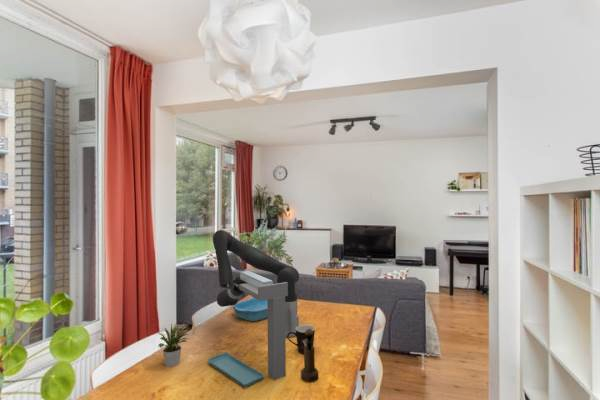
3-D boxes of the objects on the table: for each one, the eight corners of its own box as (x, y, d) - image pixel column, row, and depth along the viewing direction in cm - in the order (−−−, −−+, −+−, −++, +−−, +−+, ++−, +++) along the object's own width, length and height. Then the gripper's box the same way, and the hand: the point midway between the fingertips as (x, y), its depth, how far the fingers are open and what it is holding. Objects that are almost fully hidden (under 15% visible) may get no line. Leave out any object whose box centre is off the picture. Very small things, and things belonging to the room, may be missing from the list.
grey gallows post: (239, 361, 133) (239, 277, 134) (265, 354, 139) (265, 273, 140) (260, 384, 116) (259, 287, 116) (289, 375, 122) (288, 282, 123)
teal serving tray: (264, 380, 119) (264, 373, 119) (244, 390, 113) (244, 383, 113) (226, 357, 138) (226, 351, 138) (206, 365, 131) (206, 359, 131)
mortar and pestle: (300, 373, 123) (299, 326, 124) (316, 372, 124) (316, 325, 124) (301, 382, 117) (301, 333, 117) (319, 381, 117) (318, 332, 117)
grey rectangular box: (240, 279, 143) (240, 271, 143) (248, 278, 145) (248, 270, 145) (263, 290, 123) (263, 282, 123) (272, 289, 125) (272, 280, 125)
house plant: (165, 378, 120) (165, 334, 121) (143, 368, 128) (143, 327, 128) (196, 362, 132) (195, 322, 133) (174, 354, 140) (174, 317, 140)
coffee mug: (317, 348, 145) (317, 326, 145) (311, 357, 136) (311, 333, 137) (293, 345, 148) (293, 323, 149) (286, 353, 140) (286, 330, 140)
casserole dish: (267, 302, 215) (267, 292, 215) (294, 308, 202) (294, 297, 202) (225, 318, 185) (225, 306, 185) (253, 326, 172) (252, 313, 172)
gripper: (221, 282, 150) (231, 270, 138) (249, 279, 157) (261, 266, 145) (224, 298, 146) (234, 287, 135) (253, 294, 154) (265, 282, 142)
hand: (248, 276), depth 140 cm, fingers open, 8 cm apart
